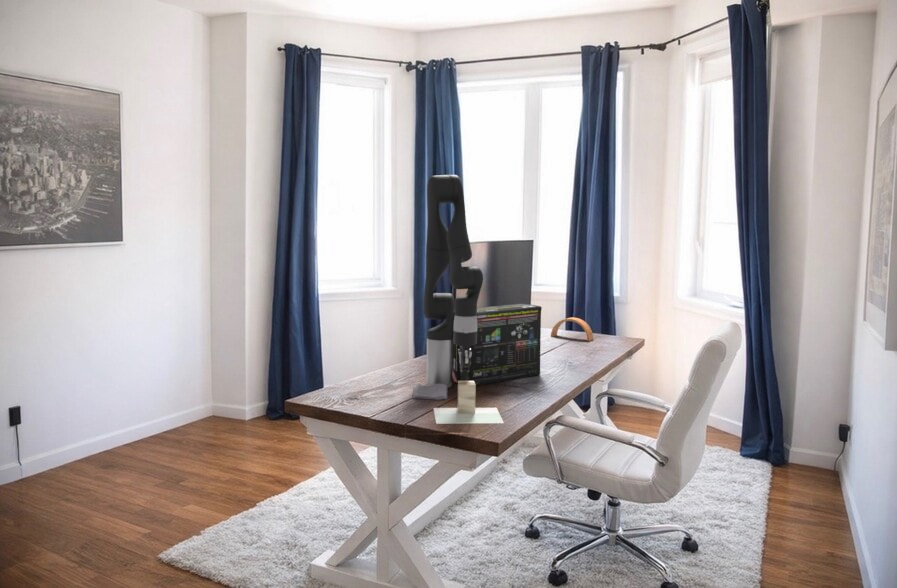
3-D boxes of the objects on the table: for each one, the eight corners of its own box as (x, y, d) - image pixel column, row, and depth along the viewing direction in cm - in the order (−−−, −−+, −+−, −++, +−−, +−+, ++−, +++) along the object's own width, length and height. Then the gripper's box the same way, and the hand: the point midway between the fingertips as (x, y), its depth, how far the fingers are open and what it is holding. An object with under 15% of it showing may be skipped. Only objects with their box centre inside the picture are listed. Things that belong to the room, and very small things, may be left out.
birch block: (457, 408, 224) (457, 380, 223) (473, 408, 224) (473, 380, 223) (458, 413, 219) (459, 384, 218) (475, 413, 219) (475, 384, 218)
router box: (522, 369, 281) (524, 302, 278) (541, 375, 272) (544, 306, 269) (448, 381, 261) (449, 309, 257) (466, 388, 252) (467, 313, 248)
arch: (588, 341, 341) (589, 321, 340) (550, 336, 352) (551, 316, 351) (593, 339, 346) (594, 319, 345) (555, 335, 357) (556, 315, 355)
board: (433, 409, 224) (433, 407, 224) (496, 409, 226) (496, 407, 226) (436, 425, 209) (436, 423, 209) (504, 425, 210) (504, 423, 210)
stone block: (448, 407, 235) (447, 393, 244) (448, 393, 233) (447, 380, 243) (412, 408, 234) (412, 394, 244) (411, 394, 233) (412, 381, 242)
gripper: (452, 325, 232) (451, 377, 235) (455, 333, 219) (454, 388, 221) (474, 325, 233) (473, 377, 235) (479, 333, 220) (478, 387, 222)
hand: (464, 382), depth 228 cm, fingers closed
